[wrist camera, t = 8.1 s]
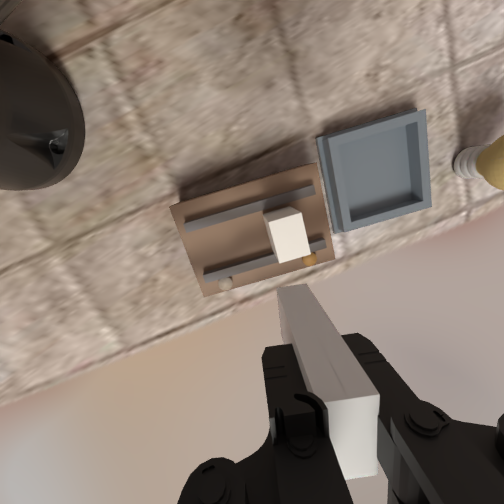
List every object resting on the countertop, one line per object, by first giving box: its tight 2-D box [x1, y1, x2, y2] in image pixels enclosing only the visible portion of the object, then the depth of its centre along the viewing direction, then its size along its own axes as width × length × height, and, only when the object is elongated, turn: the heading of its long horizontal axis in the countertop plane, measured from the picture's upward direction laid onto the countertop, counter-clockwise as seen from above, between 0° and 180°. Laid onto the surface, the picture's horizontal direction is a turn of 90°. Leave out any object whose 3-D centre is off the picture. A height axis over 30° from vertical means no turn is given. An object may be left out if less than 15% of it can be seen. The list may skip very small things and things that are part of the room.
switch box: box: [169, 162, 335, 297], centre depth 29 cm, size 11×16×6 cm
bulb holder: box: [316, 108, 432, 234], centre depth 30 cm, size 12×12×3 cm
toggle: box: [263, 206, 311, 263], centre depth 25 cm, size 4×3×5 cm
